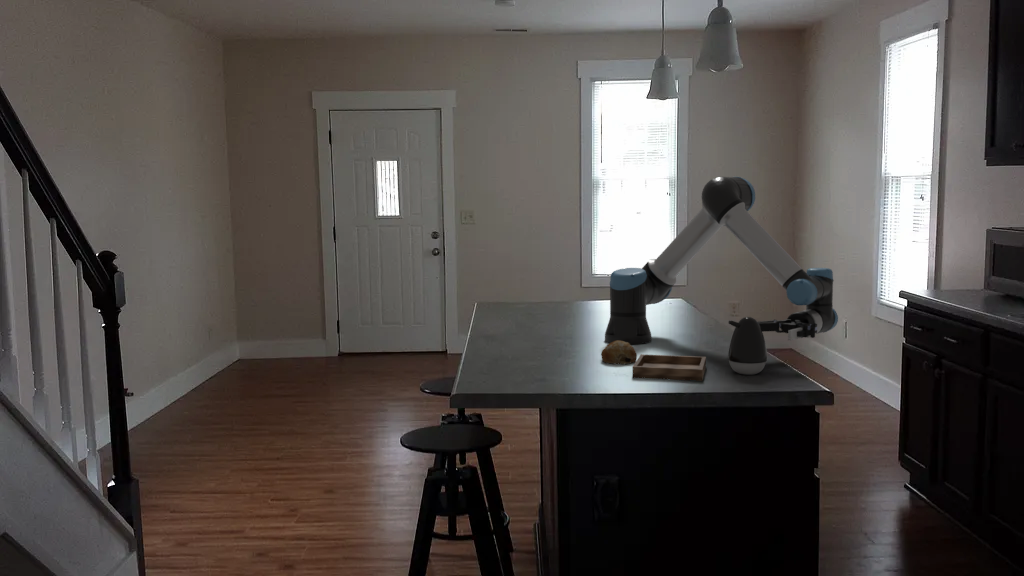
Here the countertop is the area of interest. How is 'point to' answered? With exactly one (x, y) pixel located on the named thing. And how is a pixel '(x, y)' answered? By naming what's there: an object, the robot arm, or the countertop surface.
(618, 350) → the bread roll
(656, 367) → the walnut tray
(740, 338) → the pump dispenser
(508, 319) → the countertop surface
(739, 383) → the countertop surface
